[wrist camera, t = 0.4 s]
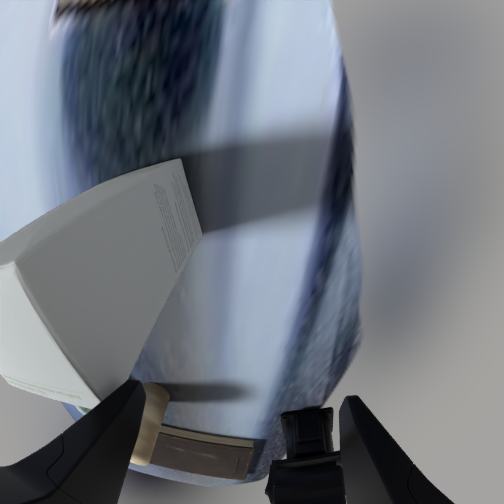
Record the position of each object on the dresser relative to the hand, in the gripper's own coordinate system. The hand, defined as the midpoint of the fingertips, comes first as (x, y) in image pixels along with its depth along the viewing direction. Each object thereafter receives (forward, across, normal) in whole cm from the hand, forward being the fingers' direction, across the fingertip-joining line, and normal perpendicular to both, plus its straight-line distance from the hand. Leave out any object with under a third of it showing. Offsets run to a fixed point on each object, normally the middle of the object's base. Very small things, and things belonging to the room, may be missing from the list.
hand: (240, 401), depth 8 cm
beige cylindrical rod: (+14, +12, +21) cm, 28 cm away
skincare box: (+14, +9, -2) cm, 17 cm away
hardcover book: (+15, +11, +38) cm, 42 cm away
